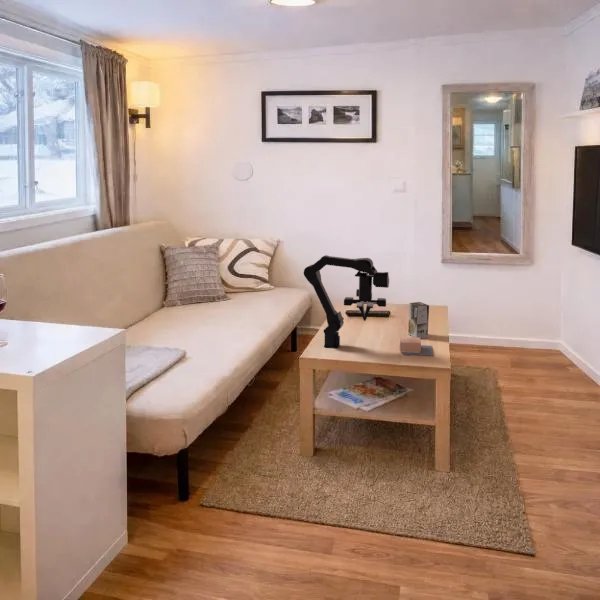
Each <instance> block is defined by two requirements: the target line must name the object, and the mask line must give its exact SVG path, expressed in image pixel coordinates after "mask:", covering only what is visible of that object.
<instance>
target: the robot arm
mask: <svg viewBox="0 0 600 600" xmlns="http://www.w3.org/2000/svg"><path fill="white" fill-rule="evenodd" d="M326 266H334V267H341V268H348V269H349V268H350V269H353V270H356V271H357V273H356V274H354V277H358V288H357V289H356V294H355V296H356V297H358V298H357V299H354V296H353V297H352V296H348V297H346V296H345V298H344V299H343V306H345V307H347V306H349V307H351V306H352V305H353V304H355V305H356V308H358V309H359V311H360V314H361V316H362V320H363V322H366V321H367V318H368V315H369V312H370V310H371V309H373V308H374V305H377V306H378V307H379V308H380V307H384V308H385V307H387V299H386V298H385V297H384V298H383V297H378V298H377V299H373V292H372V291H373V290H372V289H373V286H374V287H375V288H386V289H387V288H389V286H390V276H389V272H388V271H384V272H383V271H381V272H380V271H378V270H377V269H376V267H375V265H374V261H373V260H372V259H371V258H369V257H359V258H350V257H349V258H347V257H341V256H340V257H339V256H333V255H332V256H331V255H330V256H329V255H327V254H325V255H323V256H321V258H320V259H318V260H317V261H316V262H314V263H313V264H310V265H308V266H306V267H305V268H304V269H303V275H304V278H305V279H306V280H307V281H308V283H309V284H310V285H311V286H312V287H313V289H314V291H315V293H316V295H317V298H318V300H319V301H320V305H321V306H322V308H323V311H324V313H325V317H326V322H327V326H326V327H325V328H324V329H323V334H324V345H323V348H334V349H335V348H336V349H337V348H339V346H340V345H341V335H340V334H339V331H340V330H341V328H342V327H344V323H345V322H344V320H345V318H344V317H343V316H342V312H341V311H337V310H336V309H335V307H334V306H333V304H332V301H331V298H330V297H329V295H328V293H327V291H326V288H325V286H324V284H323V282H322V276H321V275H322V274H321V270H322V269H323V268H324V267H326ZM365 305H366V307H365ZM365 308H366V309H365Z"/></svg>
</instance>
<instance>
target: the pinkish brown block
mask: <svg viewBox="0 0 600 600" xmlns="http://www.w3.org/2000/svg"><path fill="white" fill-rule="evenodd" d="M421 345H422V342H421V338H418V337H412V336H399V352H400V353H403V352H412V353H420V352H421Z"/></svg>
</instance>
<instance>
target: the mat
mask: <svg viewBox="0 0 600 600" xmlns="http://www.w3.org/2000/svg"><path fill="white" fill-rule="evenodd" d="M402 355H403V356H414V355H418V357H419V355H422V356H421V357H434V352H433V347H432V345H428V344H427V345H425V344H424V345H423V344H421V352H420V353H412V352H402Z"/></svg>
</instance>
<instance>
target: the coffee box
mask: <svg viewBox="0 0 600 600" xmlns="http://www.w3.org/2000/svg"><path fill="white" fill-rule="evenodd" d="M429 313H430V305H429V304H426V303H424V302H421V301H416V302H409V303H408V333H407V334H409V336H410V335H411V336H410V337H412V336H413V337H418V338H420V339H428V337H429V318H430V317H429V315H430V314H429Z"/></svg>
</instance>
